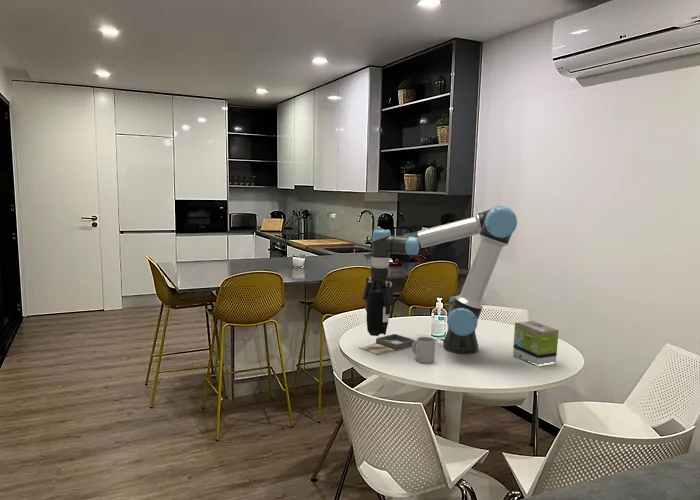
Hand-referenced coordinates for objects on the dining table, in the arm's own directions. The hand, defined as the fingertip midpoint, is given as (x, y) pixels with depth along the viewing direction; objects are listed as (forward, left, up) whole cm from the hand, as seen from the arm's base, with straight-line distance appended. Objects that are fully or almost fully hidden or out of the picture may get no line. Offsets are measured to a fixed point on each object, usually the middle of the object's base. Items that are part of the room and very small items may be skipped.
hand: (377, 319), depth 219 cm
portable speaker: (0, 0, -7) cm, 7 cm away
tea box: (-49, -43, -13) cm, 67 cm away
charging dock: (0, -12, -13) cm, 18 cm away
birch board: (0, 0, -13) cm, 13 cm away
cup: (-21, -5, -13) cm, 25 cm away
